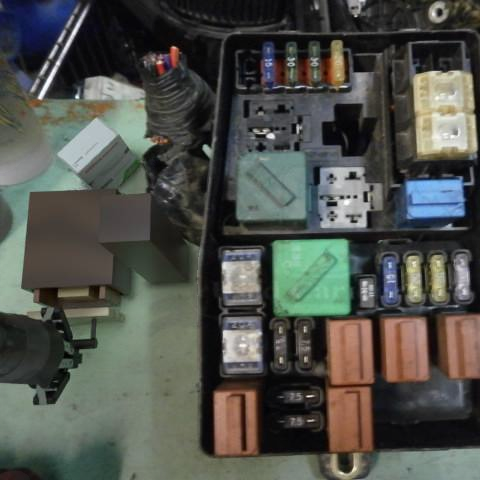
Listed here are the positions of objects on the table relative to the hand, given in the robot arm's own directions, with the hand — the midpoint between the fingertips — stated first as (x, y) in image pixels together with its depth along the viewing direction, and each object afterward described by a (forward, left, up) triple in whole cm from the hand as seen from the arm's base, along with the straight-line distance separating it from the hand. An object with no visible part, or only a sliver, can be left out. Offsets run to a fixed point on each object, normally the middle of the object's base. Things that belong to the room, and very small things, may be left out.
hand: (75, 359), depth 77 cm
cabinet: (+15, +8, -5) cm, 18 cm away
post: (+18, -4, -5) cm, 20 cm away
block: (+10, +5, -3) cm, 11 cm away
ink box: (+28, +12, -5) cm, 31 cm away
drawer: (+9, +5, -4) cm, 11 cm away
